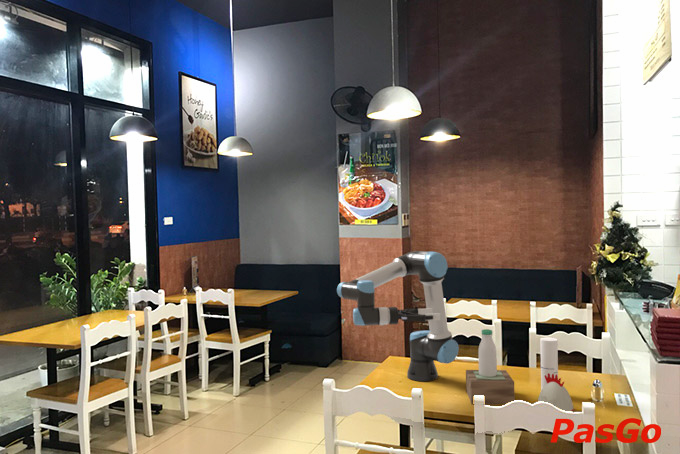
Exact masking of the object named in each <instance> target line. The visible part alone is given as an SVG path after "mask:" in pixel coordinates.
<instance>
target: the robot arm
mask: <svg viewBox="0 0 680 454" xmlns="http://www.w3.org/2000/svg"><path fill="white" fill-rule="evenodd" d="M447 271H448V262H447V259H446V257H445V256H444V255H443V253H440V252H438V251H437V252H436V251H433V250H431V251H428V250H427V251H425V250H424V251H423V250H414V251H409V252H407V253H405V254H403V255H400V256H399V257H396V258H394V259H393V260H392V262H390V263H387V264H385V265H383V266H381V267H380V268H379V267H378V268H377V269H375V270H373V271H370V272H367V273H366V274H363V275H362V276H360V277H357V278H355V279H352V280H351V281H343V282H340V283H339V284H338V285H337V288H336V293H337V295H338V297H340V298H342V299H345V300H350V301H356V302H357V307H355V308H353V310H352V320H353V324H354V326H363V327H365V326H381V327H383V326H384V325H387V326H388V324H389V325H398V324H399V320H401V321H402V322H421V323H424V324H425V323H427V322H428V327H429V330H417V331H413V332H411V333H410V335H409V352H410V355H409V356H410V362H409V366H408V368H407V372H406V374H407V378H408V379H409V380H412V381H415V382H431V381H436V379H438V378H439V376H438V374H439V373H438V371H437V367H436V364H435V362H437V363H441V364H446V365H447V364H448V365H449V364H450V363H452V362H454V361H455V359H456V357H457V356H458V353H459V351H460V350H459V344H458V342H457V341H456V340H455V339H453V336H452V332H451V331H450V330H449V329H448V323H447V315H446V314H447V313H446V308H445V306H446V305H445V301H444V300H445V299H444V291H443V285H442V283H443V280H445V275H446V274H447ZM409 275H416V276H418V279H419V282H420V283H421V284H422V286H423V291H424V293H423V294H424V299H425V308H418V307H417V306H415V307H413V308H412V307H411V308H405V309H404V308H403V309H398V307H397V306H389V307H387V306H384V307H383V306H382V307H379V306H378V307H376V305H375V303H376V302H375V300H376V299H375V298H376V297H375V289H376V288H379V287H380V286H382V285H383V284H386V283H388V282H391V281H392V280H394V279H397V278H399V277H400V278H403V277H406V276H409ZM426 321H427V322H426Z"/></svg>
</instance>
